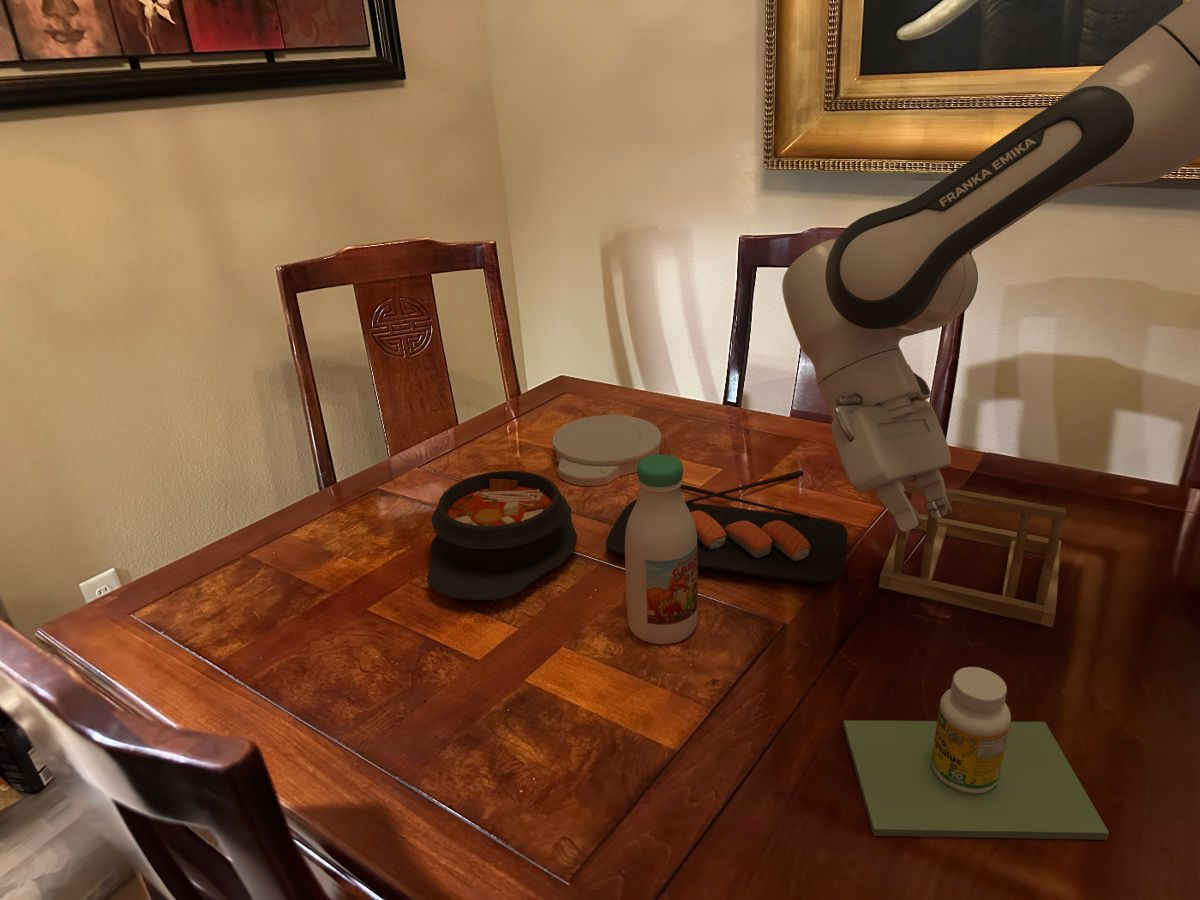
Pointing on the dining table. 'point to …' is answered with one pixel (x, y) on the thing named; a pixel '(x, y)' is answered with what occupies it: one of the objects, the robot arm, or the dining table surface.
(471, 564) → the casserole
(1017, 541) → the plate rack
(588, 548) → the dining table surface
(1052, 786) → the mat
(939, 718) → the supplement bottle
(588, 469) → the kitchen scale
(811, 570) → the sushi plate
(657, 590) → the milk bottle
